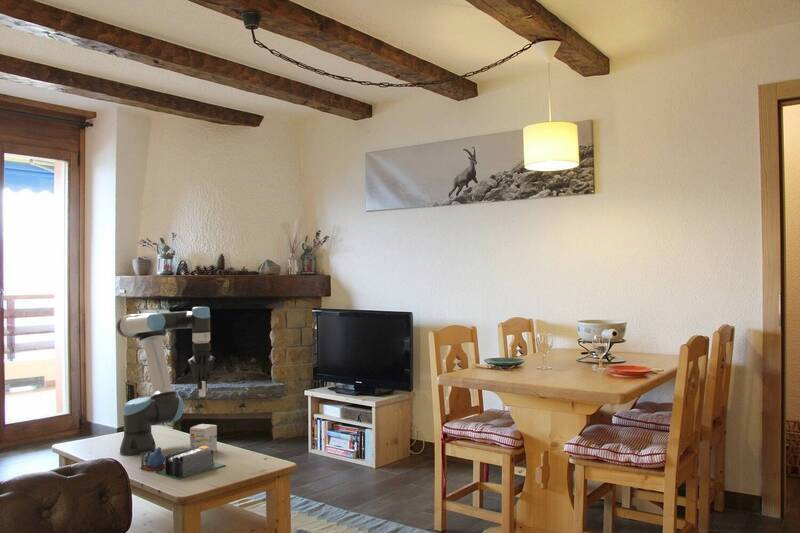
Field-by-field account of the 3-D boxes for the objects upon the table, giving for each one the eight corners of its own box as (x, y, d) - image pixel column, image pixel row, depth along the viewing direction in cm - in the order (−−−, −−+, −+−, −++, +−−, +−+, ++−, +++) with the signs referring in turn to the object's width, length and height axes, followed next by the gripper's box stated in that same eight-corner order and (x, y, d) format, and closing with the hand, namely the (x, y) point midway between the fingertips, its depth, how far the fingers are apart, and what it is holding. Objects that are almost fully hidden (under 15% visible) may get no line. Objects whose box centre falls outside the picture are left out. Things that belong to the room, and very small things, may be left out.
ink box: (189, 453, 292) (189, 427, 293) (202, 449, 300) (201, 423, 300) (205, 455, 289) (204, 428, 289) (217, 450, 297) (217, 424, 297)
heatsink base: (155, 473, 263) (155, 453, 263) (202, 460, 280) (201, 442, 280) (178, 479, 253) (178, 459, 253) (225, 466, 270) (225, 447, 270)
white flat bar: (173, 463, 257) (172, 459, 257) (167, 461, 259) (166, 457, 259) (209, 450, 270) (209, 446, 270) (203, 449, 273) (203, 445, 273)
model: (172, 467, 271) (171, 445, 271) (152, 473, 263) (151, 450, 263) (155, 463, 278) (154, 441, 278) (135, 468, 270) (134, 446, 270)
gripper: (193, 343, 279) (194, 399, 278) (219, 341, 289) (220, 394, 289) (183, 343, 284) (184, 397, 283) (208, 340, 294) (209, 393, 293)
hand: (202, 396), depth 286 cm, fingers closed
